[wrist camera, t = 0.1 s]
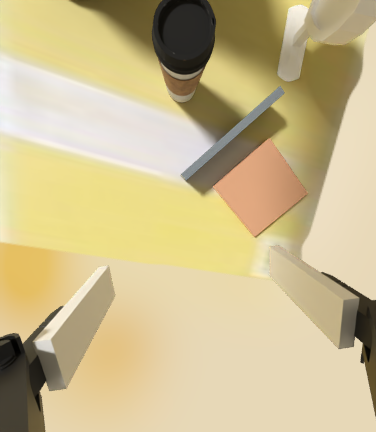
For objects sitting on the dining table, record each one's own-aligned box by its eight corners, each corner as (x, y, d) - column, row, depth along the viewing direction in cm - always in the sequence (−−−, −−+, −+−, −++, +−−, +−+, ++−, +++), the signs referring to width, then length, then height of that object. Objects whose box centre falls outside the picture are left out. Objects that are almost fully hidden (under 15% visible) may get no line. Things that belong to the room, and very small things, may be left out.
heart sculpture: (291, -4, 35) (409, -195, 17) (314, 1, 35) (454, -180, 17) (274, 84, 38) (362, 0, 20) (297, 88, 38) (401, 8, 20)
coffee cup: (203, 107, 37) (220, 59, 23) (163, 111, 37) (155, 65, 22) (199, 61, 36) (215, -22, 21) (157, 65, 35) (144, -16, 21)
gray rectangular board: (180, 175, 40) (181, 174, 34) (264, 100, 38) (280, 85, 32) (184, 180, 40) (186, 180, 34) (268, 106, 38) (284, 92, 32)
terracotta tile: (212, 186, 41) (213, 186, 40) (267, 139, 40) (269, 138, 39) (252, 235, 44) (254, 236, 43) (304, 193, 43) (307, 193, 42)
